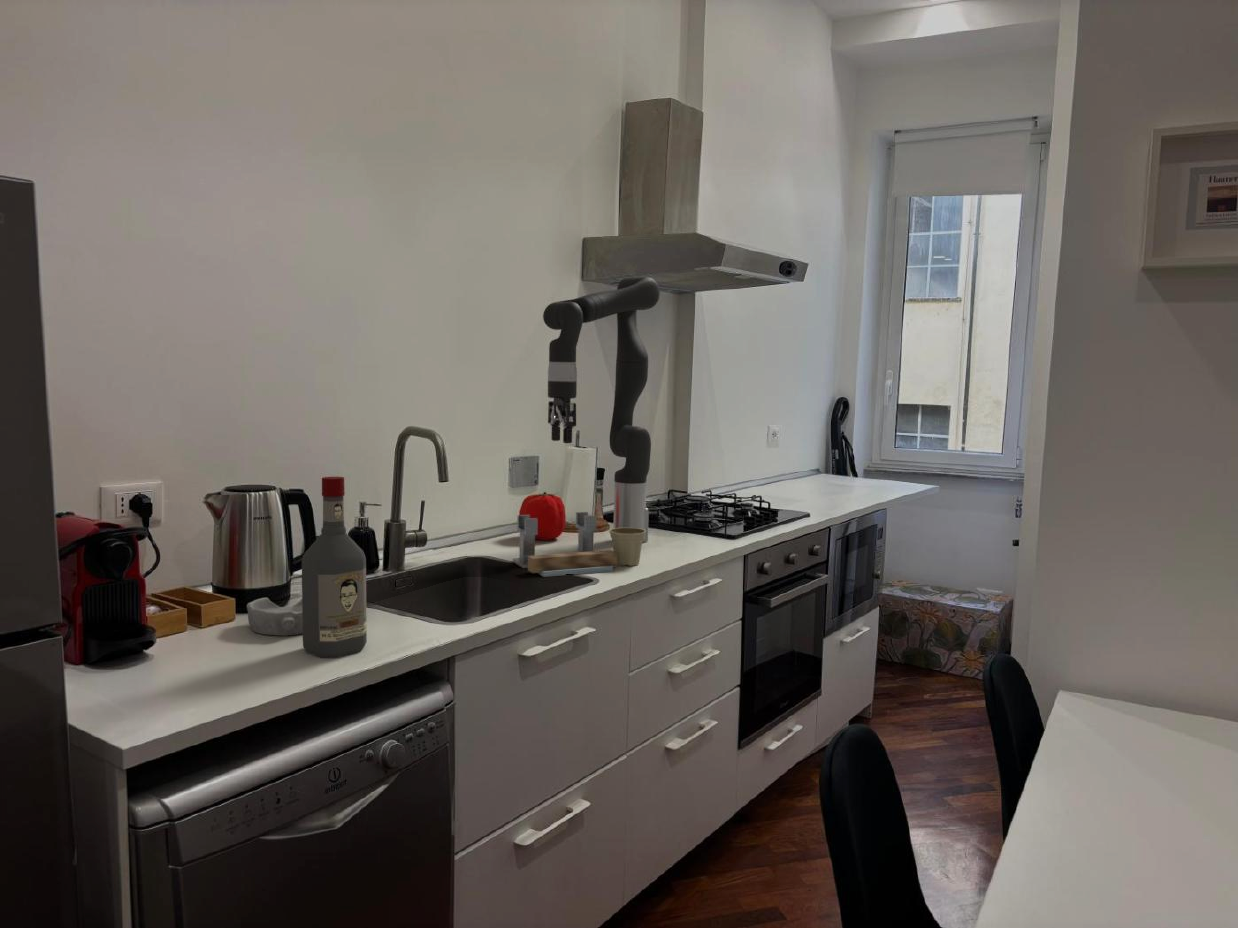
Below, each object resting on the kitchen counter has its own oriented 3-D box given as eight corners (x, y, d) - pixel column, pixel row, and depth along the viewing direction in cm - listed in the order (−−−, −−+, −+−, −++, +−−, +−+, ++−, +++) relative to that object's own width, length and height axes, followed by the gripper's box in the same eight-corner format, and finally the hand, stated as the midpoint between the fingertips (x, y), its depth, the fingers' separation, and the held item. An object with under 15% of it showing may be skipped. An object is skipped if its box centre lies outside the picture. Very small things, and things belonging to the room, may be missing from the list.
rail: (610, 563, 231) (610, 549, 231) (616, 566, 228) (616, 552, 227) (527, 570, 222) (527, 555, 221) (532, 573, 219) (532, 558, 218)
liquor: (297, 649, 159) (294, 477, 156) (344, 638, 166) (342, 473, 163) (325, 661, 153) (322, 482, 150) (372, 649, 160) (371, 478, 157)
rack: (588, 556, 243) (589, 511, 242) (600, 562, 236) (601, 515, 234) (512, 561, 234) (512, 515, 233) (522, 567, 227) (523, 520, 226)
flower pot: (602, 565, 232) (603, 531, 231) (616, 558, 240) (616, 526, 239) (637, 569, 228) (638, 534, 227) (650, 562, 237) (650, 529, 236)
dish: (237, 626, 173) (237, 600, 172) (309, 614, 182) (309, 589, 182) (267, 644, 162) (266, 616, 162) (341, 630, 171) (341, 604, 171)
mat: (599, 564, 232) (599, 560, 232) (612, 571, 225) (613, 566, 225) (532, 570, 225) (532, 565, 225) (543, 576, 217) (543, 571, 217)
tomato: (560, 544, 258) (560, 496, 257) (512, 542, 260) (513, 494, 259) (572, 534, 274) (572, 489, 272) (527, 532, 276) (527, 487, 274)
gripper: (586, 380, 234) (585, 443, 236) (565, 379, 247) (564, 439, 249) (558, 380, 231) (557, 444, 233) (539, 379, 244) (538, 440, 245)
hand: (561, 441), depth 241 cm, fingers open, 8 cm apart
